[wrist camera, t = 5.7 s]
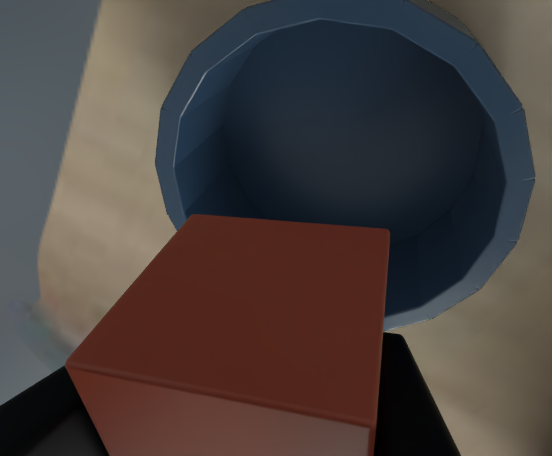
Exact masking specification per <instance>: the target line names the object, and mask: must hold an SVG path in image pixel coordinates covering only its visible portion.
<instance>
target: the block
mask: <svg viewBox="0 0 552 456" xmlns="http://www.w3.org/2000/svg"><path fill="white" fill-rule="evenodd" d="M389 245H390V232H389V230H388V229H382V228H370V227H357V226H344V225H331V224H318V223H305V222H292V221H279V220H266V219H253V218H240V217H227V216H214V215H202V214H193V215H191V216H190V217H189V218H188V220H187V221H186V222H185V223H184V224H183V225H182V227H181V228H180V229H179V230H178V231H177V232H176V234H175V235H174V236H173V237H172V238H171V239H170V240H169V242H168V243H167V244H166V245H165V246H164V247H163V249H162V250H161V251H160V252H159V253H158V254H157V256H156V257H155V258H154V259H153V260H152V261H151V263H150V264H149V265H148V266H147V267H146V268H145V270H144V271H143V272H142V273H141V274H140V275H139V277H138V278H137V279H136V280H135V281H134V282H133V284H132V285H131V286H130V287H129V288H128V289H127V291H126V292H125V293H124V294H123V295H122V296H121V298H120V299H119V300H118V301H117V302H116V303H115V305H114V306H113V307H112V308H111V309H110V310H109V312H108V313H107V314H106V315H105V316H104V317H103V318H102V320H101V321H100V322H99V323H98V324H97V325H96V327H95V328H94V329H93V330H92V331H91V332H90V334H89V335H88V336H87V337H86V338H85V339H84V341H83V342H82V343H81V344H80V345H79V346H78V348H77V349H76V350H75V351H74V352H73V353H72V355H71V356H70V357H69V358H68V359H67V361H66V363H65V367H66V369H67V371H68V373H69V375H70V377H71V379H72V381H73V383H74V385H75V387H76V389H77V391H78V393H79V395H80V397H81V399H82V401H83V403H84V405H85V407H86V409H87V411H88V413H89V416H90V418H91V420H92V422H93V424H94V426H95V428H96V430H97V432H98V434H99V436H100V438H101V440H102V442H103V444H104V446H105V448H106V450H107V452H108V454H109V456H374V445H375V434H376V424H377V410H378V396H379V382H380V369H381V355H382V341H383V327H384V314H385V300H386V286H387V273H388V259H389Z"/></svg>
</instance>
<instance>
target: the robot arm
mask: <svg viewBox="0 0 552 456" xmlns="http://www.w3.org/2000/svg"><path fill="white" fill-rule="evenodd" d="M0 456H109V454H108V452H107V450H106V448H105V446H104V444H103V442H102V440H101V438H100V436H99V434H98V432H97V430H96V428H95V426H94V424H93V422H92V420H91V418H90V416H89V413H88V411H87V409H86V407H85V405H84V403H83V401H82V399H81V397H80V395H79V393H78V391H77V389H76V387H75V385H74V383H73V381H72V379H71V377H70V375H69V373H68V371H67V369H66V367H65V366H63V367H61V368H60V369H58V370H57V371H55V372H53V373H52V374H50V375H49V376H47V377H45V378H44V379H42V380H41V381H39V382H37V383H36V384H34V385H33V386H31V387H29V388H28V389H26V390H25V391H23V392H21V393H20V394H18V395H17V396H15V397H14V398H12V399H10V400H9V401H7V402H6V403H4V404H3V405H1V406H0ZM374 456H461V455H460V453H459V451H458V448H457V446H456V444H455V442H454V440H453V438H452V436H451V434H450V432H449V430H448V428H447V426H446V424H445V422H444V420H443V417H442V415H441V413H440V411H439V409H438V407H437V405H436V403H435V401H434V399H433V397H432V395H431V393H430V391H429V388H428V386H427V384H426V382H425V380H424V378H423V376H422V374H421V372H420V370H419V368H418V366H417V364H416V362H415V360H414V357H413V355H412V353H411V351H410V349H409V347H408V345H407V343H406V341H405V339H404V337H403V336H402V335H400V334H393V333H386V332H383V341H382V355H381V369H380V382H379V396H378V410H377V424H376V434H375V445H374Z"/></svg>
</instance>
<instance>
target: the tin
mask: <svg viewBox="0 0 552 456" xmlns="http://www.w3.org/2000/svg"><path fill="white" fill-rule="evenodd" d="M155 166H156V170H157V174H158V178H159V183H160V187H161V191H162V195H163V199H164V203H165V207H166V212H167V215H169V218H170V220H171V221H172V223H173V225H174V226H175V228H176V230H177V231H178V230H179V229H180V228H181V227H182V225H183V224H184V223H185V222H186V221H187V220H188V218H189V217H190V216H191V215H193V214H202V215H214V216H227V217H240V218H253V219H266V220H279V221H292V222H305V223H318V224H331V225H344V226H357V227H370V228H382V229H388V230H389V232H390V245H389V259H388V273H387V286H386V300H385V314H384V327H383V332H384V331H388V330H392V329H396V328H400V327H404V326H408V325H411V324H415V323H419V322H423V321H427V320H430V319H433V318H435V317H436V316H438V315H440V314H441V313H443V312H445V311H446V310H448V309H449V308H451V307H453V306H454V305H456V304H458V303H459V302H461V301H462V300H464V299H466V298H467V297H469V296H471V295H472V294H474V293H475V292H477V291H479V289H481V288H482V287H483V286H484V284H485V283H486V282H487V280H488V279H489V278H490V277H491V275H492V274H493V273H494V272H495V270H496V269H497V268H498V267H499V265H500V264H501V263H502V262H503V260H504V259H505V258H506V257H507V255H508V254H509V253H510V251H511V250H512V249H513V248H514V246H515V245H516V244H517V241H518V240H519V237H520V233H521V230H522V226H523V222H524V219H525V215H526V212H527V208H528V204H529V201H530V197H531V194H532V190H533V186H534V183H535V179H534V178H535V171H534V165H533V159H532V153H531V147H530V141H529V135H528V129H527V123H526V117H525V112H524V109H523V108H522V104H521V102H520V101H519V99H518V98H517V97H516V95H515V94H514V92H513V91H512V89H511V88H510V87H509V85H508V84H507V82H506V81H505V79H504V78H503V77H502V75H501V74H500V72H499V71H498V69H497V68H496V67H495V65H494V64H493V62H492V61H491V59H490V58H489V56H488V55H487V54H486V52H485V51H484V49H483V48H482V46H481V45H480V44H479V42H478V41H477V40H476V39H475V38H474V36H473V35H472V34H471V33H470V32H469V30H468V29H467V28H466V27H465V26H464V24H463V23H462V22H461V21H460V20H459V19H458V18H456V17H455V16H453V15H451V14H450V13H448V12H446V11H445V10H443V9H441V8H440V7H438V6H436V5H435V4H433V3H432V2H430V1H428V0H270V1H267V2H263V3H260V4H256V5H253V6H249V7H247V8H245V9H242V10H241V11H240V12H239V13H237V14H236V15H235V16H234V17H233V18H231V19H230V20H229V21H228V22H226V23H225V24H224V25H223V26H221V27H220V28H219V29H218V30H216V31H215V32H214V33H213V34H212V35H210V36H209V37H208V38H207V39H205V40H204V41H203V42H202V43H200V44H199V45H198V46H197V47H195V48H194V49H193V50H192V51H191V53H190V54H189V55H188V57H187V59H186V61H185V63H184V65H183V67H182V69H181V71H180V72H179V74H178V76H177V78H176V80H175V82H174V84H173V86H172V88H171V89H170V91H169V93H168V95H167V97H166V99H165V101H164V103H163V105H162V107H161V111H160V120H159V129H158V139H157V148H156V158H155Z"/></svg>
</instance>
